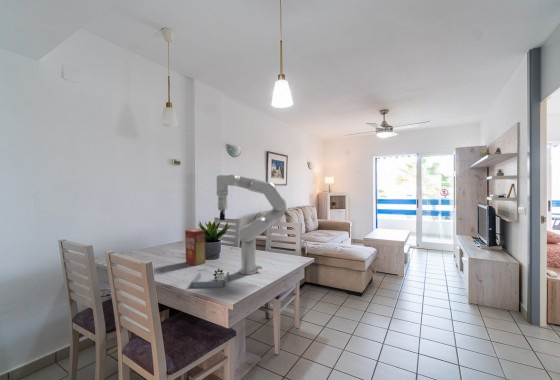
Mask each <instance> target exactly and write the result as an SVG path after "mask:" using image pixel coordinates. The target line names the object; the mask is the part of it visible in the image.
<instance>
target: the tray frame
mask: <svg viewBox="0 0 560 380" xmlns="http://www.w3.org/2000/svg"><path fill="white" fill-rule="evenodd" d="M201 278H202V273H201V272H198V274H196V276H195V277H194V278H193V279H192V281H191V282H190V287H191V288H195V289H196V288H225V287H226V285H227V283H228V280H229V279H230V272H229V271H228V272H227V273H226V275H225V276H224V278H225V280H224V281H215V280H214V281H200V279H201Z"/></svg>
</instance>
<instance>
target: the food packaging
mask: <svg viewBox="0 0 560 380" xmlns="http://www.w3.org/2000/svg"><path fill="white" fill-rule="evenodd" d="M184 234H185V236H184V237H185V263H186V264H188V265H192V266H196V267H197V266H199V265H201V266H202V265H205V264H206V230H203V229H197V228H191V229H186V230H185V231H184Z"/></svg>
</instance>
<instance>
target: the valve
mask: <svg viewBox="0 0 560 380" xmlns="http://www.w3.org/2000/svg"><path fill="white" fill-rule="evenodd" d="M223 271H224V270H223V269H220V268H218V269H217V270H214V273H213V276H214V279H215V280H217V281H224V280H225V273H224V272H223Z"/></svg>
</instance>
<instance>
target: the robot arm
mask: <svg viewBox="0 0 560 380" xmlns="http://www.w3.org/2000/svg"><path fill="white" fill-rule="evenodd" d="M229 186H230V187H239V188H242V189H246V190H248V191H251V192H254V193H258V194H262V195H264V196H265V198H266V199H267V201H268V203H269V204H270V206H271V207H272V209H271V210H269V211H268V212H266V213H265V214H263V215H262V216H259V217H257V218H255V219H254V220H253V221H251V222H250V223H248V224H247V225H244V226H243V227H241V228H240V230H239V232H238V238H239V240H240V241H241V245H240V246H241V261H240V262H241V265H240V266H241V267H240V269H238V272H239V274H242V275H252V274H257V273H258V271H259V270H263V266H261V265H257V263H256V240H257V237H258V236H260V235H261V234H263V233H264V232H266V230H267V229H268V228H269V227H270V226H272V225H274V224H276V223H277V222H278V221H280V220H281V219H282V218H283V216H284V215H285V214H286V209H287V202H286V200H285V198H284V197H282V196H281V194H280V192H278V190H277V187H276V185H275V184H274V183H272V182H269V181H264V180H260V179H257V178H256V179H255V178H249V177H244V176H241V175H240V176H239V175H236V174H228V175H225V174H224V175H223V174H218V175H217V176H216V196H217V209H218V211H219V220H220V221H225V220H226V210H228V197H227V196H229Z"/></svg>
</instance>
